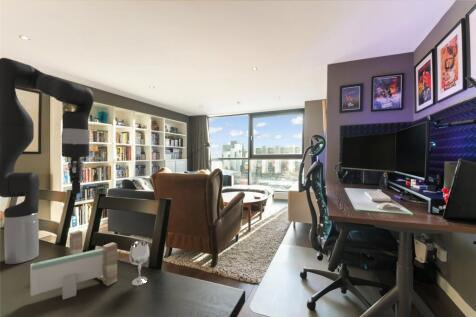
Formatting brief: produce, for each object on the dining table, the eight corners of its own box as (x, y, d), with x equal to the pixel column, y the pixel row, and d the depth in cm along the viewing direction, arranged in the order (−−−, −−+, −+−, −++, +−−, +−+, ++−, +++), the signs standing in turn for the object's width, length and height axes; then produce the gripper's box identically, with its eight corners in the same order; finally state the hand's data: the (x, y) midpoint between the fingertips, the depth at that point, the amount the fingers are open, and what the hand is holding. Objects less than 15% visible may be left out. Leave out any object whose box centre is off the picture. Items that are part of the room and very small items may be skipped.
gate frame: (69, 265, 77) (69, 232, 77) (79, 262, 80) (79, 230, 79) (107, 286, 65) (107, 247, 65) (117, 280, 68) (117, 243, 68)
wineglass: (141, 287, 65) (141, 248, 64) (125, 285, 66) (125, 247, 65) (153, 277, 70) (153, 241, 70) (137, 275, 71) (137, 239, 71)
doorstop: (76, 290, 63) (76, 273, 63) (76, 295, 61) (75, 278, 61) (63, 293, 62) (63, 276, 61) (62, 299, 59) (62, 281, 59)
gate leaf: (108, 272, 70) (108, 246, 70) (109, 274, 68) (109, 248, 68) (31, 293, 59) (31, 263, 59) (30, 297, 57) (30, 266, 57)
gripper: (64, 143, 76) (65, 191, 77) (58, 141, 65) (58, 198, 65) (90, 144, 80) (90, 189, 81) (88, 142, 69) (88, 195, 69)
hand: (76, 193), depth 73 cm, fingers closed
